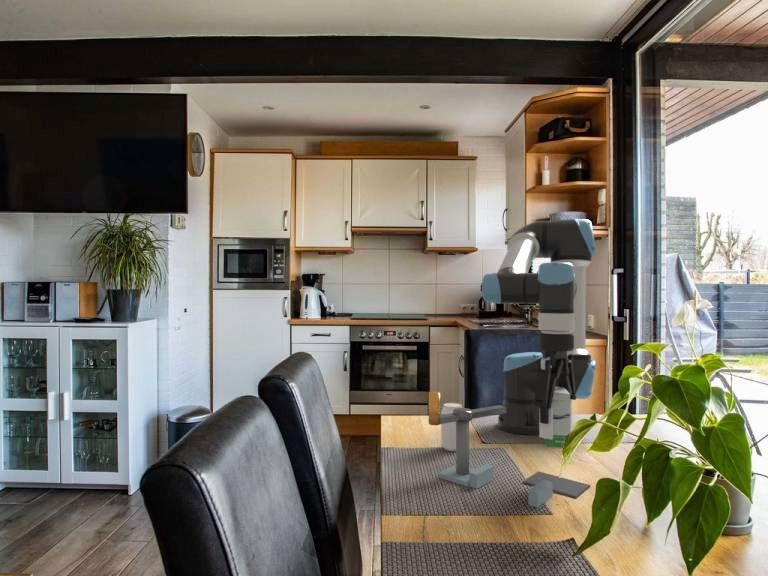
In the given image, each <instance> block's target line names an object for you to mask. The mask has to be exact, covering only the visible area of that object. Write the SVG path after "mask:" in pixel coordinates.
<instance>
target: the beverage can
mask: <svg viewBox="0 0 768 576" xmlns="http://www.w3.org/2000/svg"><path fill="white" fill-rule="evenodd" d="M462 406H463V404H461V403H458V402H447V403H444V404H443V407H442V409H441V410H440V415H444V414H450V413H453V409H455V408H463V407H462ZM440 429H441V430H440V432H441V437H440V438H441V440H440V442H441V447H442V448H443V449H444V450H445V451H449V452H456V422H450V423H445V424H440Z"/></svg>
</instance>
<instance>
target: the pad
mask: <svg viewBox="0 0 768 576" xmlns="http://www.w3.org/2000/svg"><path fill="white" fill-rule="evenodd" d="M559 477H561V478H559ZM543 480H545V481H549V482H553V493H557V494H560V495H563V496H566V497H570V498H574V499H578V497H579V496H581V495H582V494H584V492H586V491H588V489H590V488H591V485H590V484H589V483H588V484H587V483H584V482H579V481H577V480H573V479H569V478H565V477H563V476H558V475H554V474H550V473H546V472H543V471H536V472H535V473H533V474H532V475H530V476H529V477H527V478H526V479H524V480H523V481H522V484H525V485H527V486H531V487H534V486H535V485H537V484H538V483H540V482H541V481H543Z"/></svg>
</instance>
